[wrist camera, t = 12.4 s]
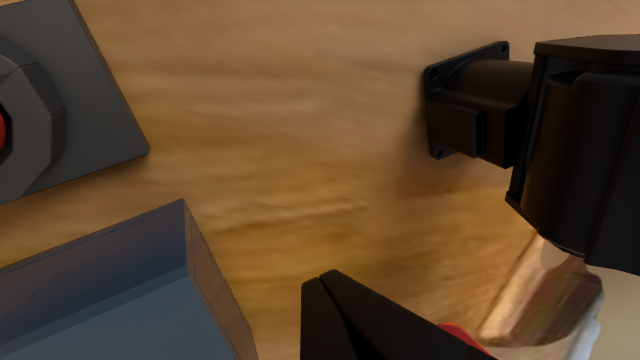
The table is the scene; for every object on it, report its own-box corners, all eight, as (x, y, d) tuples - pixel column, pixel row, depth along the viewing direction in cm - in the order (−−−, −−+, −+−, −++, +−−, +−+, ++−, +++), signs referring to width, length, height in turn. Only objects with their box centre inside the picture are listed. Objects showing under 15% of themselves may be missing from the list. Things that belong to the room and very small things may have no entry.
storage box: (79, 417, 22) (48, 544, 16) (-60, 290, 16) (-176, 421, 11) (251, 331, 24) (273, 417, 19) (183, 197, 19) (187, 265, 13)
